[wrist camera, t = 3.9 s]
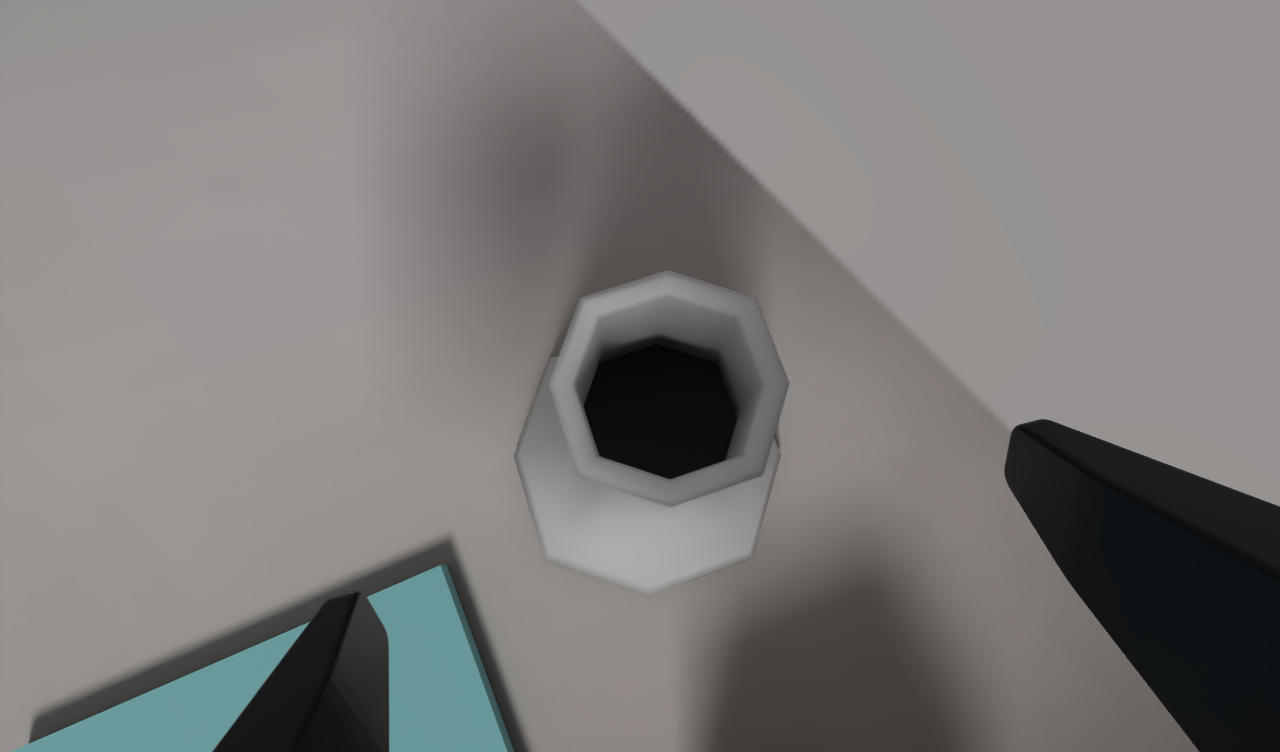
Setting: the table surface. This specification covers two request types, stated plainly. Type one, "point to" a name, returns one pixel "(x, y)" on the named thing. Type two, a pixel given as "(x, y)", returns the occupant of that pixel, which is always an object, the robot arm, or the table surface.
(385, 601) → the mat
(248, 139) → the table surface
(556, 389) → the flask
